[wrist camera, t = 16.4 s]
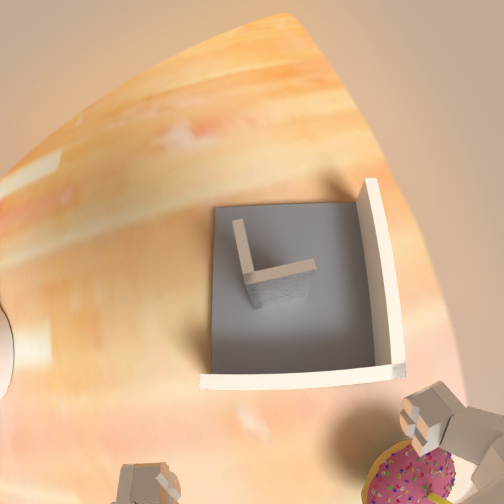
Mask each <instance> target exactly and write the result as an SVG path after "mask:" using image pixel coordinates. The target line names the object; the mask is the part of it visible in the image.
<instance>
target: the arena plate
mask: <svg viewBox="0 0 504 504" xmlns="http://www.w3.org/2000/svg"><path fill="white" fill-rule="evenodd" d="M238 219H243V222H244V227H245V231H246V235H247V240H248V244H249V249H250V253H251V257H252V262H253V266H254V271H259V270H263V269H268V268H272V267H277V266H281V265H286V264H290V263H295V262H299V261H304V260H308V259H312V258H314V261H315V265H316V268H317V269H316V272H315V275H314V278H313V281H312V284H311V287H310V290H309V293H308V296H307V297H306V298H302V299H298V300H293V301H289V302H285V303H280V304H276V305H271V306H267V307H262V308H258V309H254V308H253V306H252V303H251V300H250V297H249V295H248V292H247V289H246V286H245V283H244V278H243V273H242V268H241V263H240V258H239V253H238V248H237V243H236V238H235V233H234V228H233V223H232V221H234V220H238ZM374 366H375V352H374V338H373V326H372V315H371V304H370V295H369V286H368V278H367V270H366V263H365V256H364V249H363V242H362V236H361V230H360V224H359V218H358V212H357V207H356V202H347V203H307V204H280V205H257V206H238V207H221V208H215V230H214V256H213V288H212V343H211V374H236V375H242V374H287V373H307V372H322V371H335V370H346V369H356V368H366V367H374Z"/></svg>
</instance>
